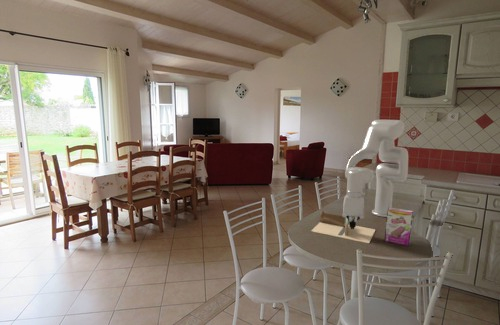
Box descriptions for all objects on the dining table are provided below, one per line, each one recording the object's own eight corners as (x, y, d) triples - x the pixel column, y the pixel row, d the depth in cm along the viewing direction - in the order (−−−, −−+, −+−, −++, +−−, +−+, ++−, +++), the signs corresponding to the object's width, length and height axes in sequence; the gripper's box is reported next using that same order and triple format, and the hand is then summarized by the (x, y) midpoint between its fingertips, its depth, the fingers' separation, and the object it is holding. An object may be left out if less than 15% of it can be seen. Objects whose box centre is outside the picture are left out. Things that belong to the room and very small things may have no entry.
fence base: (320, 221, 177) (320, 210, 175) (348, 227, 169) (349, 215, 168) (319, 222, 175) (319, 211, 174) (347, 228, 167) (348, 216, 166)
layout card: (322, 220, 179) (322, 219, 179) (375, 230, 165) (375, 229, 164) (310, 231, 162) (311, 230, 162) (369, 243, 148) (369, 242, 147)
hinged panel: (347, 227, 167) (348, 216, 166) (347, 235, 155) (348, 224, 154) (344, 226, 167) (345, 216, 166) (344, 234, 156) (345, 224, 155)
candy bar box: (384, 241, 150) (386, 209, 147) (385, 238, 154) (388, 206, 152) (409, 246, 145) (413, 213, 142) (410, 243, 149) (413, 210, 146)
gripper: (369, 193, 158) (366, 226, 161) (338, 191, 162) (337, 224, 165) (370, 197, 151) (368, 232, 154) (339, 195, 155) (337, 229, 158)
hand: (352, 228), depth 160 cm, fingers closed
